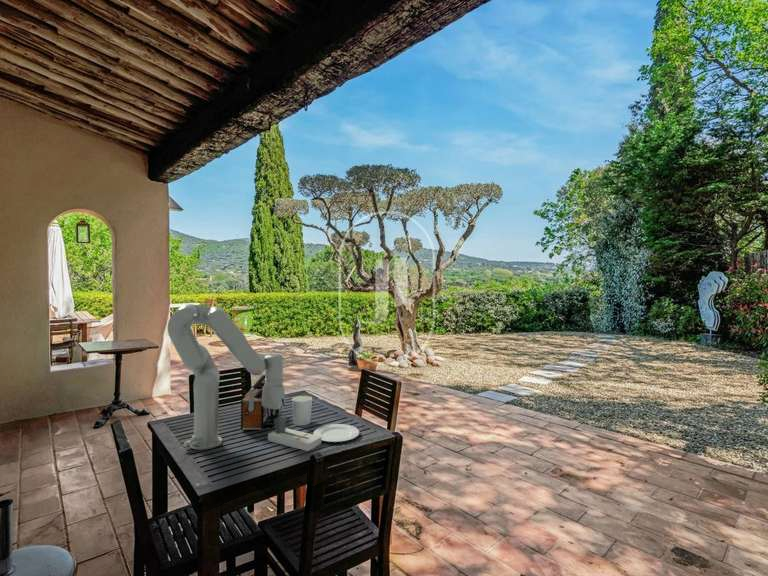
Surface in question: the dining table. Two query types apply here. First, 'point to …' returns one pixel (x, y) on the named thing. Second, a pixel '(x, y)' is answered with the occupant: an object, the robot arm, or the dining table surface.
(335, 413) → the dining table surface
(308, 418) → the candle holder
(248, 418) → the radio cassette player
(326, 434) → the plate
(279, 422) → the fader knob
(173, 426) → the dining table surface
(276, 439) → the fader console
